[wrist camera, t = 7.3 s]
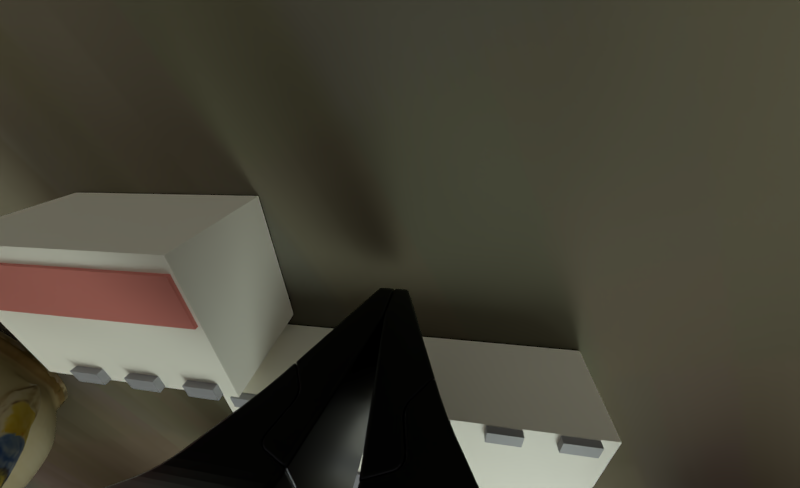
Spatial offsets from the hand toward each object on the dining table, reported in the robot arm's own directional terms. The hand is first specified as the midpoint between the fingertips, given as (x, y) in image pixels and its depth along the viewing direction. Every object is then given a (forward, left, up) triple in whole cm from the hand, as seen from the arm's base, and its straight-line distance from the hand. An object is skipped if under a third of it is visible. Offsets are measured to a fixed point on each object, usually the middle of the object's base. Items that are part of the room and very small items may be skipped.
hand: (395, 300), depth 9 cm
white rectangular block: (+8, 0, -1) cm, 8 cm away
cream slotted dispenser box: (0, +7, -1) cm, 7 cm away
